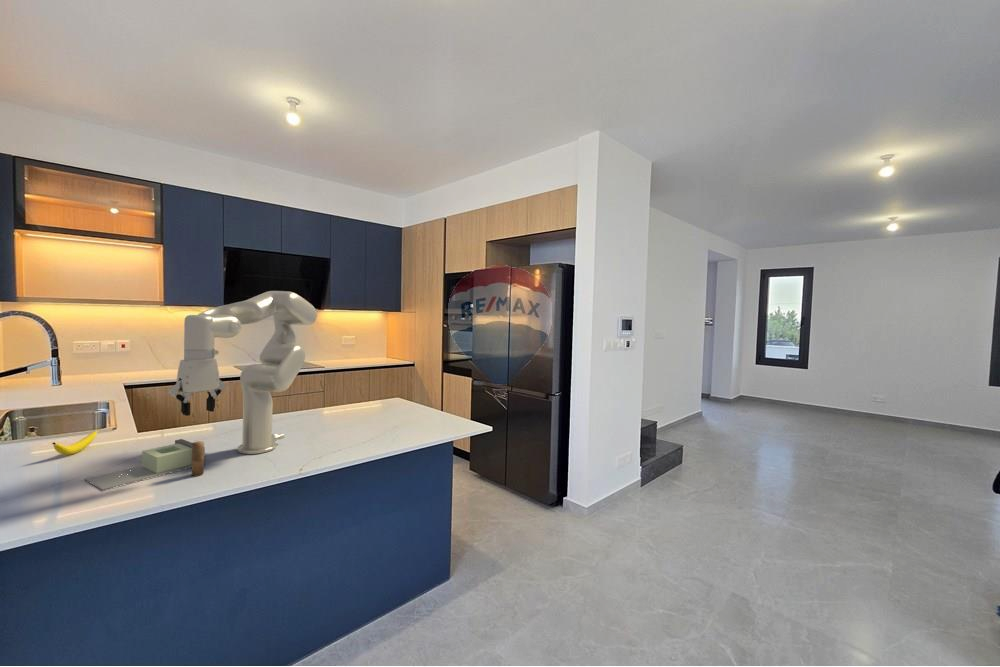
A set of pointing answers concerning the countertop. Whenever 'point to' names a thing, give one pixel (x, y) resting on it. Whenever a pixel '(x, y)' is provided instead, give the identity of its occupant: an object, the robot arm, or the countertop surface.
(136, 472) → the grey l-shaped plate
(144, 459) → the socket block
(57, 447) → the banana
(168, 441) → the countertop surface
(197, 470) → the dowel
